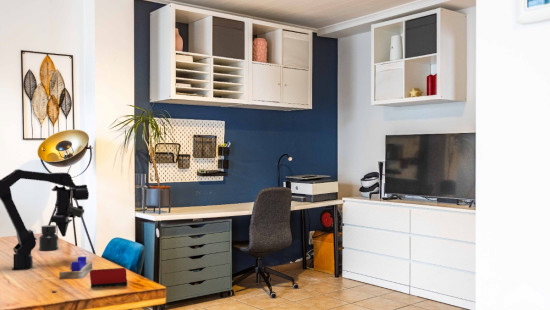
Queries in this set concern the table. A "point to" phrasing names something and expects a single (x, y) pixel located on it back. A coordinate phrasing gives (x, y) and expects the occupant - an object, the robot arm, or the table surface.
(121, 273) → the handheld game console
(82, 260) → the cable clip
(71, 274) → the slot rails
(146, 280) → the table surface
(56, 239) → the ink bottle
